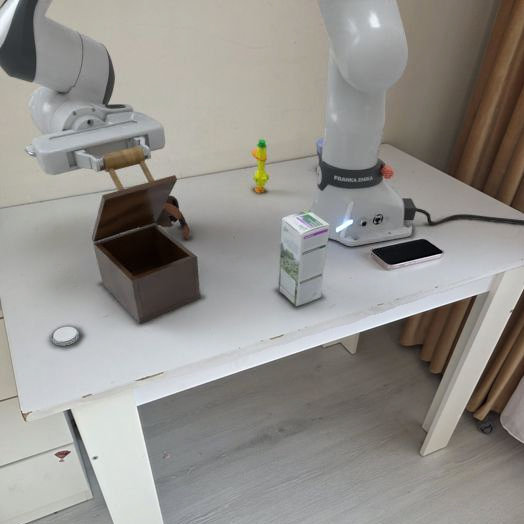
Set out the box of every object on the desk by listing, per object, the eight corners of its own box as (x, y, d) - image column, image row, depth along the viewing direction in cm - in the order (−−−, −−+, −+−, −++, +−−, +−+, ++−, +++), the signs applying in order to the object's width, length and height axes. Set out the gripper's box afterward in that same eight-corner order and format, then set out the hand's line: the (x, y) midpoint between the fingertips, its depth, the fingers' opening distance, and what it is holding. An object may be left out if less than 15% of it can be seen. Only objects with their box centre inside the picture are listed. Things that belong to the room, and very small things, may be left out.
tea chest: (200, 297, 85) (197, 256, 79) (139, 323, 79) (131, 281, 74) (160, 262, 93) (155, 222, 87) (102, 284, 87) (92, 242, 81)
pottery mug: (189, 249, 97) (165, 220, 91) (152, 261, 101) (126, 234, 95) (198, 208, 103) (176, 178, 97) (163, 221, 107) (139, 193, 101)
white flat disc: (54, 348, 74) (53, 345, 74) (50, 332, 77) (49, 329, 76) (81, 341, 76) (80, 338, 75) (76, 326, 78) (76, 323, 78)
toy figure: (246, 186, 118) (246, 135, 110) (259, 183, 119) (261, 133, 111) (258, 197, 114) (260, 145, 105) (272, 194, 115) (274, 143, 107)
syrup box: (322, 297, 86) (332, 223, 76) (294, 308, 83) (302, 232, 73) (303, 281, 89) (310, 208, 79) (276, 291, 87) (280, 216, 77)
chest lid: (177, 179, 74) (156, 138, 74) (104, 200, 68) (81, 155, 68) (155, 222, 86) (137, 187, 86) (93, 242, 81) (73, 205, 81)
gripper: (13, 125, 72) (49, 154, 65) (137, 102, 82) (180, 124, 74) (26, 167, 77) (61, 198, 69) (142, 140, 86) (184, 165, 79)
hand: (124, 160), depth 72 cm, fingers closed on chest lid, 6 cm apart
